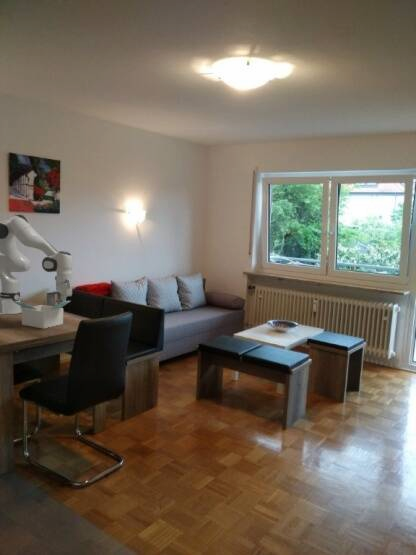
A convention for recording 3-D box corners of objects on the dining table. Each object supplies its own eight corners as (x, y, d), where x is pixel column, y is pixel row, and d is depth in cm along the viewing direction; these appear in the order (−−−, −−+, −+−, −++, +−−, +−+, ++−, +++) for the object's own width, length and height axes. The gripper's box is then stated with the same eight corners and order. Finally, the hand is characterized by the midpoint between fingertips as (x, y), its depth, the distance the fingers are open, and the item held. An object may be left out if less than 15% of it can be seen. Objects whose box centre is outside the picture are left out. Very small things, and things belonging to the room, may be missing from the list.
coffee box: (53, 314, 305) (53, 291, 303) (62, 315, 304) (62, 292, 302) (46, 316, 296) (46, 293, 294) (55, 317, 295) (55, 293, 293)
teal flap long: (24, 307, 270) (13, 302, 262) (24, 306, 270) (13, 301, 262) (36, 309, 265) (25, 304, 258) (36, 308, 266) (26, 303, 258)
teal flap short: (51, 308, 268) (60, 302, 265) (60, 306, 276) (70, 300, 272) (51, 309, 268) (61, 303, 265) (61, 307, 276) (70, 301, 272)
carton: (20, 324, 272) (20, 308, 271) (41, 319, 287) (41, 304, 286) (43, 328, 264) (43, 312, 263) (63, 323, 279) (64, 308, 278)
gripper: (75, 280, 260) (74, 304, 262) (64, 276, 277) (63, 298, 278) (64, 281, 256) (63, 304, 258) (54, 276, 273) (53, 298, 275)
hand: (63, 301), depth 268 cm, fingers closed
